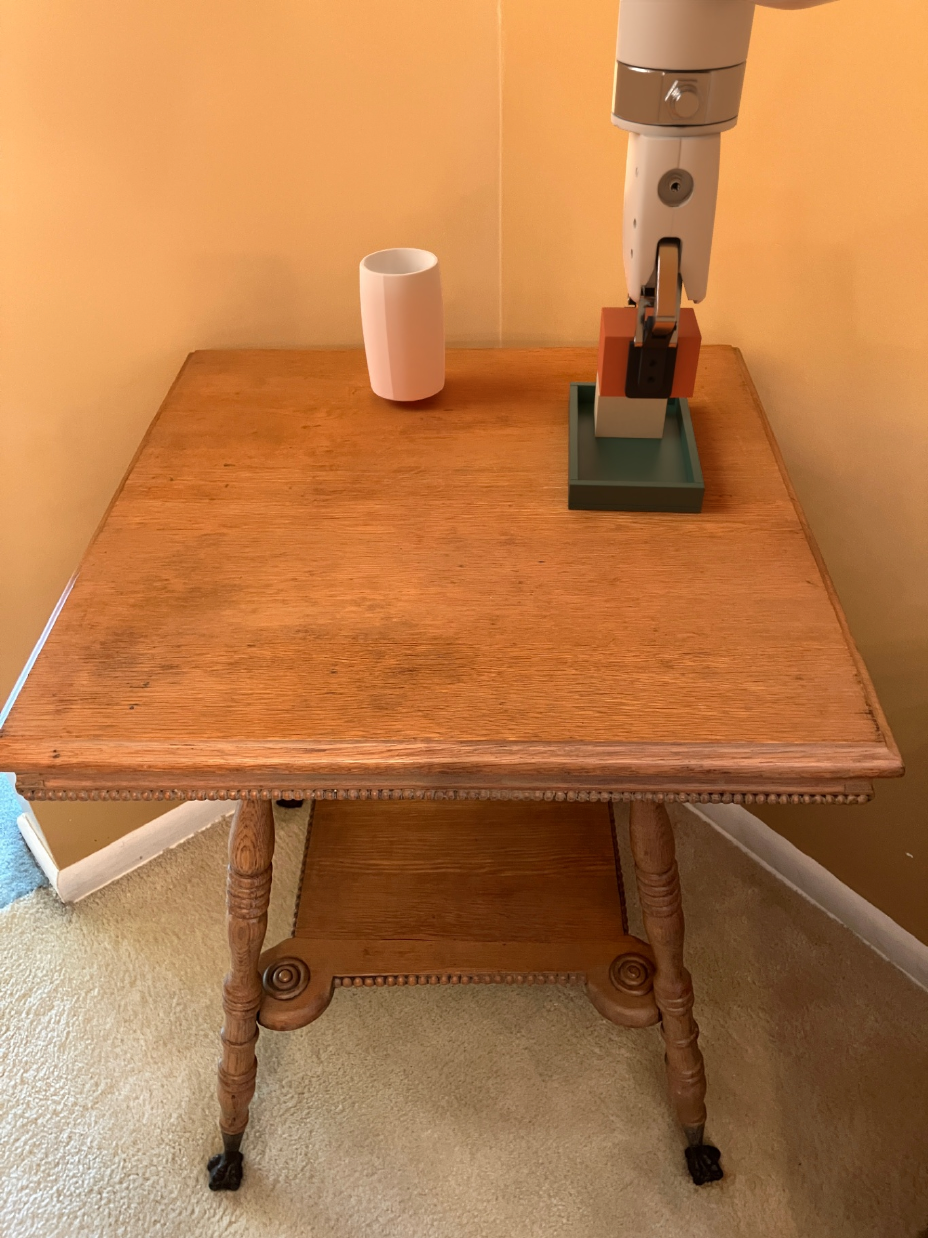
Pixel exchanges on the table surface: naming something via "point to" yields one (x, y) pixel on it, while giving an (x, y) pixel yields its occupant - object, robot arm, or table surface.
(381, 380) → the cup
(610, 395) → the orange-red block
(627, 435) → the cream white rectangular block
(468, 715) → the table surface
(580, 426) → the tray
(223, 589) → the table surface
